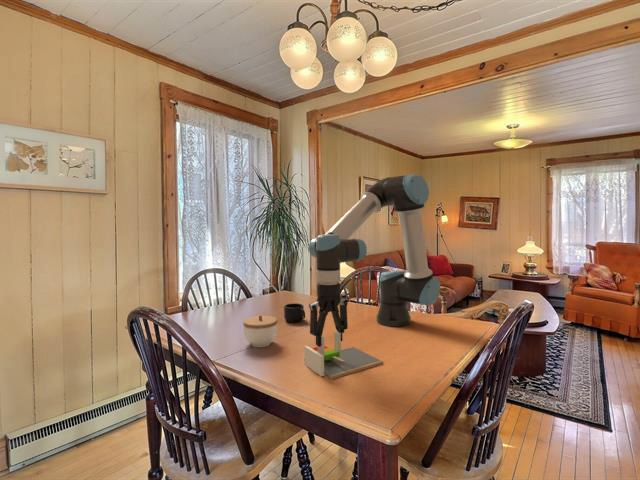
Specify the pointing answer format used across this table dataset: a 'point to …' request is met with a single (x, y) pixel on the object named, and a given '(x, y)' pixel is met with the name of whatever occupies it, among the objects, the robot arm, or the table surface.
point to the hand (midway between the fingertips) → (329, 353)
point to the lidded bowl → (260, 330)
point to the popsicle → (330, 354)
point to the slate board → (349, 362)
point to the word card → (314, 360)
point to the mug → (294, 312)
